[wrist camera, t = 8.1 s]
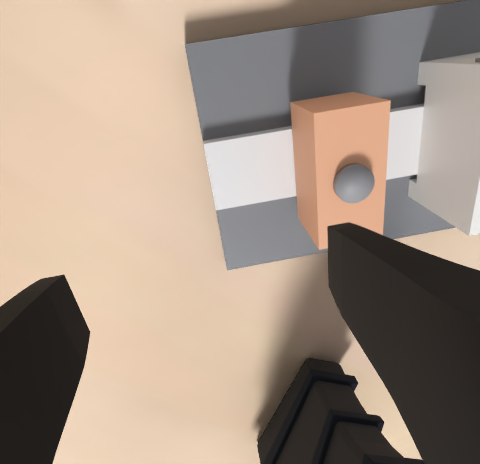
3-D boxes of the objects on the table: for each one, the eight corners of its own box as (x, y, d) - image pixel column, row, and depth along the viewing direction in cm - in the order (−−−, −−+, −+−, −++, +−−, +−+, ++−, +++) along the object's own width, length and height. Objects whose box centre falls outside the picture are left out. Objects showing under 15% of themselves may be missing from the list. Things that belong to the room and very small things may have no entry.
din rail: (589, -19, 17) (662, -32, 15) (529, 204, 23) (574, 224, 20) (185, 44, 16) (183, 42, 14) (225, 261, 22) (230, 290, 19)
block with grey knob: (352, 91, 16) (396, 101, 13) (351, 208, 19) (386, 242, 16) (290, 102, 16) (317, 115, 13) (298, 218, 19) (322, 254, 16)
